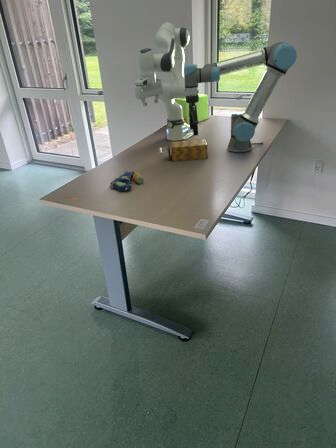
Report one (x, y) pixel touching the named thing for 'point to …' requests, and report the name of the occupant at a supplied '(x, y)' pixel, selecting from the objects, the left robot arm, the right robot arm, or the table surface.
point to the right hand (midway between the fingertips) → (193, 132)
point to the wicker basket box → (189, 150)
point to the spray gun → (126, 180)
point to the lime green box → (201, 108)
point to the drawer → (167, 151)
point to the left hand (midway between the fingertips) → (150, 104)
